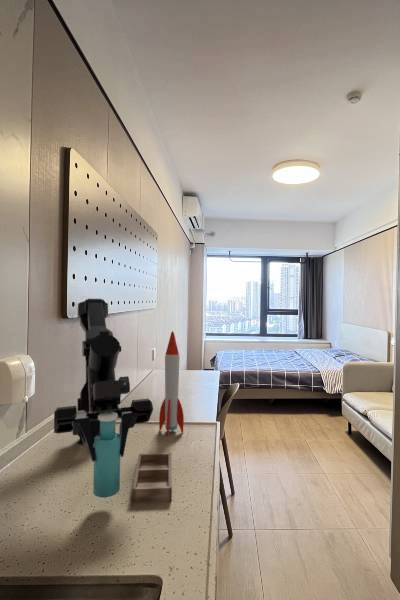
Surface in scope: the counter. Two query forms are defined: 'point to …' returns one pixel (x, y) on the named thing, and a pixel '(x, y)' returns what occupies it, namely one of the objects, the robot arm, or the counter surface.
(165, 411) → the toy rocket
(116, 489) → the bottle
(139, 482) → the caddy
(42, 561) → the counter surface
